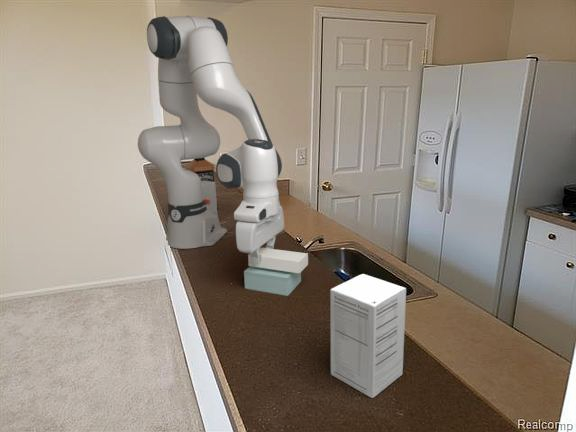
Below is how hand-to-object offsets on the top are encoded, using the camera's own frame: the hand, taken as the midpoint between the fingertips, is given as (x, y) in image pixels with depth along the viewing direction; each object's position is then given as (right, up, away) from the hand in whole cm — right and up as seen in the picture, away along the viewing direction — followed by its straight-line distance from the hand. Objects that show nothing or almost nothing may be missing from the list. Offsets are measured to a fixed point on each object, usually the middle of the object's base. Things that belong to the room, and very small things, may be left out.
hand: (263, 257), depth 111 cm
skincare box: (-26, +8, +57) cm, 63 cm away
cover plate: (+4, -2, -1) cm, 4 cm away
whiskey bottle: (-30, +13, +75) cm, 82 cm away
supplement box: (+20, -18, -35) cm, 44 cm away
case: (+2, -7, +1) cm, 8 cm away
